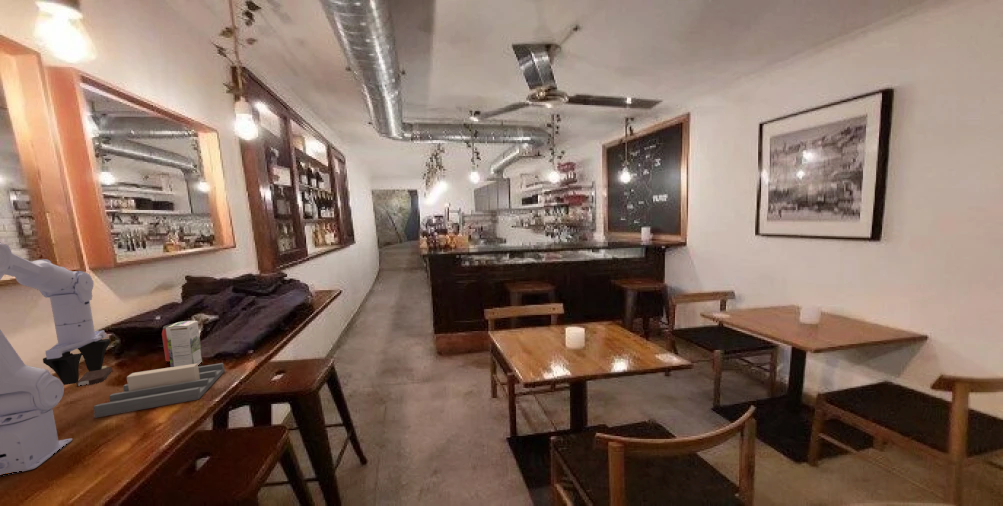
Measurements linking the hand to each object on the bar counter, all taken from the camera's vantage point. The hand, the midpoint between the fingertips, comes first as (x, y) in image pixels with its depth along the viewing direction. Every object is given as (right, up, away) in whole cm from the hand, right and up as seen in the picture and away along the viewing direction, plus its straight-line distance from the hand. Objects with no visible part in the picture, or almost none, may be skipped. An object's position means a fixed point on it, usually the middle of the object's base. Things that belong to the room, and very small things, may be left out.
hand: (83, 376), depth 85 cm
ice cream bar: (-23, -8, +23) cm, 33 cm away
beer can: (-7, -6, +33) cm, 34 cm away
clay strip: (+10, -7, +11) cm, 16 cm away
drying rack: (+10, -8, +11) cm, 17 cm away
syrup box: (+2, -7, +26) cm, 27 cm away
